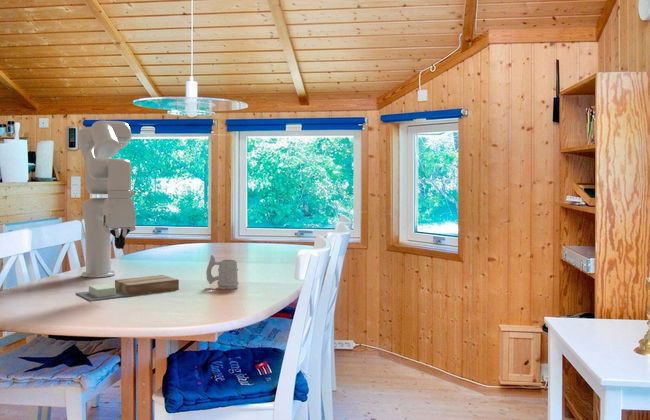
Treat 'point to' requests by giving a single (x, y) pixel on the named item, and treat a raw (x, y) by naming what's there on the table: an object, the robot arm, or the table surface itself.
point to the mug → (223, 273)
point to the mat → (94, 298)
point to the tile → (102, 290)
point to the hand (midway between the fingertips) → (119, 248)
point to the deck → (147, 284)
